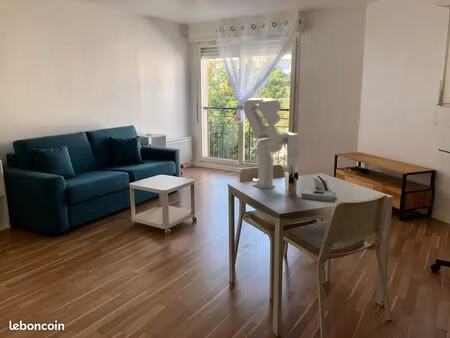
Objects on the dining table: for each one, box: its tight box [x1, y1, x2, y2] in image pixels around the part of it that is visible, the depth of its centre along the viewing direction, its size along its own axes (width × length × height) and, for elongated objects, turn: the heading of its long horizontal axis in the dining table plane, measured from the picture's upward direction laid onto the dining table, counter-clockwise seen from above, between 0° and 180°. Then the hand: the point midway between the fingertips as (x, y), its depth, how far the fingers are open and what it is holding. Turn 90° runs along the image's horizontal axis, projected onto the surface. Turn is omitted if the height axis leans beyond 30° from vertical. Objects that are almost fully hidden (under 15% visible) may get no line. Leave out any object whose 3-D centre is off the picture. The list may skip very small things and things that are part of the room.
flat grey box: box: [301, 188, 336, 202], centre depth 223 cm, size 18×10×3 cm, turn 65°
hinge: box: [312, 174, 333, 192], centre depth 239 cm, size 17×5×10 cm, turn 6°
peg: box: [287, 178, 298, 197], centre depth 229 cm, size 4×4×10 cm
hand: (293, 181), depth 227 cm, fingers open, 9 cm apart
